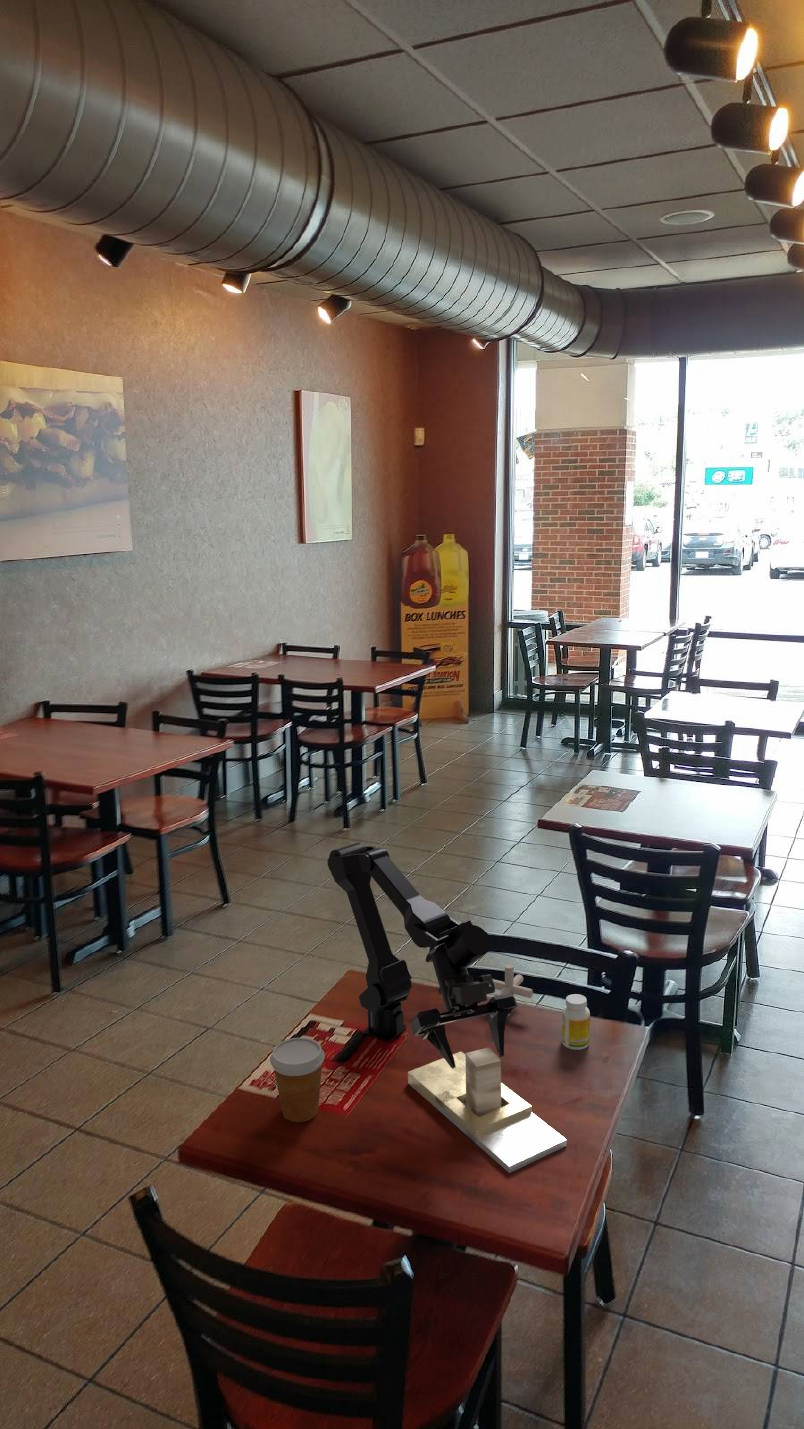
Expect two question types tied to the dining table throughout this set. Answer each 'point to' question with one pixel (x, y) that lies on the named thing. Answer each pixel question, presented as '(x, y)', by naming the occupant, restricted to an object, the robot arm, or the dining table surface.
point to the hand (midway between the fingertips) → (478, 1062)
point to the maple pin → (483, 1081)
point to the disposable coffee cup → (298, 1077)
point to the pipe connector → (512, 984)
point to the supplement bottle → (575, 1022)
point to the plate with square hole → (487, 1116)
